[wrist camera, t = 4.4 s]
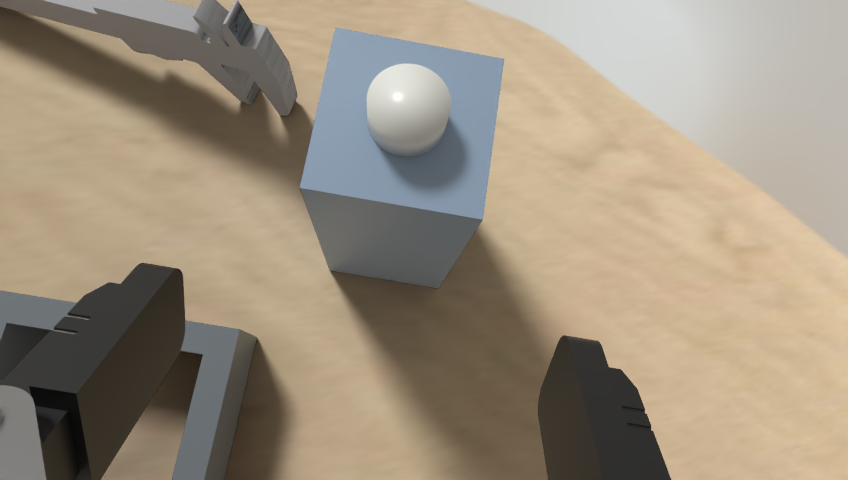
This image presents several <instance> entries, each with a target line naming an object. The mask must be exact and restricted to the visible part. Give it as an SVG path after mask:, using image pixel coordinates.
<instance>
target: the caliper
mask: <svg viewBox="0 0 848 480" xmlns="http://www.w3.org/2000/svg"><path fill="white" fill-rule="evenodd" d="M0 7H4V8H8V9H12V10H16V11H19V12H23V13H27V14H31V15H34V16H38V17H42V18H46V19H49V20H53V21H57V22H61V23H65V24H68V25H72V26H76V27H80V28H83V29H87V30H91V31H95V32H98V33H102V34H106V35H110V36H114V37H117V38H121V39H122V40H123V41H124V42H125V43H126V44H127V45H128V46H129V47H130V48H131V49H132V50H134V51H136V52H139V53H145V54H152V55H156V56H158V57H160V58H163V59H166V60H182V61H183V59H185V60H189V61H193V62H196V63H198V64H199V65H200V66H201V67H203V68H204V69H205V70H206V71H207V72H208V73H209V74H211V75H212V76H213V77H214V78H215V79H216V80H217V81H218V82H220V83H221V84H222V85H223V86H224V87H225V88H226V89H227V90H229V91H230V92H231V93H232V94H233V95H234V96H235V97H236V98H238V99H239V100H240V101H241V102H244V103H247V104H250V105H252V104H253V102H254V100H255V98H256V96H257V94H258V92H259V90H260V89H261V90H262V91H263V93H264V94H265V95H266V97H267V98H268V99H269V101H270V102H271V103H272V105H273V106H274V108H275V109H276V110H277V112H278V113H279V115H282V116H287V115H289V113H290V111H291V109H292V107H293V105H294V103H295V100H296V98H297V91H296V86H295V83H294V79H293V75H292V72H291V68H290V64H289V61H288V60H287V58H286V57H285V55H284V53H283V52H282V50H281V49H280V47H279V46H278V44H277V42H276V41H275V39H274V38H273V36H272V35H271V33H270V32H269V30H268V29H267V27H265V26H261V25H258V24H254V23H252V22H251V21H250V19H249V18H248V16H247V14H246V13H245V11H244V9H243V8H242V6H241V5H240V3H239V1H238V0H237V1H234V3H233V5H232V7H231V9H230V11H229V12H228V11H227V10H226V9H225V8H224V7H223V6H222V5H220V4H219V3H218V2H217V1H216V0H201V2H200V4H199V6H198V8H194V7H190V6H186V5H182V4H177V3H173V2H169V1H165V0H0Z"/></svg>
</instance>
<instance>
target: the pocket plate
mask: <svg viewBox="0 0 848 480" xmlns="http://www.w3.org/2000/svg"><path fill="white" fill-rule="evenodd" d="M76 304H77V303H74V302H67V301H61V300H55V299H49V298H43V297H37V296H30V295H24V294H18V293H12V292H6V291H0V382H1V381H2V380H3V379H4V378H5V377H6V376H7V375H8V374H9V373H10V372H11V371H12V370H13V369H14V368H15V367H16V366H17V365H18V364H19V363H20V362H21V361H22V360H23V359H24V358H25V356H26V355H27V354H28V353H29V352H30V351H31V350H32V349H33V348H34V347H35V346H36V345H37V344H38V343H39V342H40V341H41V340H42V339H43V338H44V337H45V336H46V335H47V334H48V333H49V332H50V331H53V330H54V326H55V325H56V324H57V323H58V322H59V321H60V320H61V319H62V318H63V317H64V316H66V317H67V315H68V312H69V311H70V310H71V309H72V308H73V307H74V306H75V305H76ZM256 338H257V337H255V336H253V335H251V334H249V333H246V332H244V331H242V330H240V329H234V328H228V327H222V326H215V325H209V324H203V323H197V322H191V321H185V336H184V341H183V344H182V348H181V350H180V352H185V353H192V354H198V355H203V356H202V360H201V364H200V368H199V372H198V376H197V380H196V384H195V388H194V392H193V396H192V400H191V404H190V408H189V412H188V416H187V420H186V424H185V428H184V432H183V436H182V440H181V444H180V448H179V452H178V456H177V460H176V464H175V468H174V472H173V476H172V480H224V479H225V474H226V470H227V466H228V461H229V457H230V452H231V448H232V444H233V439H234V435H235V430H236V426H237V422H238V417H239V413H240V409H241V404H242V400H243V395H244V391H245V387H246V382H247V378H248V373H249V369H250V365H251V360H252V356H253V352H254V347H255V343H256Z"/></svg>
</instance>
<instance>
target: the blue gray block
mask: <svg viewBox="0 0 848 480" xmlns="http://www.w3.org/2000/svg"><path fill="white" fill-rule="evenodd" d="M503 64H504V59H502V58H496V57H491V56H486V55H480V54H475V53H470V52H464V51H459V50H454V49H448V48H443V47H437V46H432V45H427V44H421V43H416V42H411V41H405V40H400V39H395V38H389V37H384V36H378V35H373V34H368V33H362V32H357V31H352V30H346V29H341V28H335V32H334V36H333V41H332V45H331V50H330V54H329V59H328V63H327V68H326V72H325V77H324V81H323V86H322V90H321V94H320V99H319V103H318V108H317V112H316V117H315V121H314V126H313V130H312V135H311V139H310V144H309V148H308V153H307V157H306V162H305V166H304V171H303V175H302V179H301V184H300V190H301V193H302V196H303V198H304V201H305V204H306V207H307V209H308V212H309V215H310V218H311V220H312V223H313V226H314V229H315V232H316V234H317V237H318V240H319V243H320V245H321V248H322V251H323V254H324V256H325V259H326V262H327V265H328V267H329V270H331V271H336V272H342V273H348V274H354V275H360V276H366V277H372V278H378V279H384V280H390V281H396V282H402V283H408V284H414V285H420V286H426V287H432V288H439V286H440V285H441V283H442V282H443V280H444V279H445V277H446V276H447V274H448V273H449V271H450V269H451V268H452V266H453V265H454V263H455V262H456V260H457V259H458V257H459V256H460V254H461V252H462V251H463V249H464V248H465V246H466V245H467V243H468V242H469V240H470V239H471V237H472V235H473V234H474V232H475V231H476V229H477V228H478V226H479V225H480V223H481V222H482V220H483V214H484V207H485V199H486V192H487V184H488V177H489V169H490V161H491V154H492V146H493V139H494V131H495V124H496V116H497V109H498V101H499V94H500V86H501V79H502V71H503Z"/></svg>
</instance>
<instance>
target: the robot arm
mask: <svg viewBox="0 0 848 480" xmlns="http://www.w3.org/2000/svg"><path fill="white" fill-rule="evenodd" d="M184 336H185V308H184V286H183V275H182V272H181V270H180V269H176V268H171V267H165V266H159V265H153V264H147V263H140V264H139V265H138V266H136V267H135V269H134V270H133V271H132V272H131V273H130V274H129V275H128V276H127V277H126V279H125V280H124V281H123V282H122V283H121V284H116V283H110V282H109V283H107V284H105V285H103V286H101V287H100V288H98V289H96V290H94V291H92V292H90V293H88V294H86V295H85V296H84V297H83V298H82V299H81V300H80V301H79V302H78V303H77V304H76V305H75V306H74V307H73V308H72V309H71V310H70V311H69V312H68V315H67V317H66V316H64V317H63V318H62V319H61V320H60V321H59V322H58V323H57V324H56V325H55V326H54V330H53V331H50V332H49V333H48V334H47V335H46V336H45V337H44V338H43V339H42V340H41V341H40V342H39V343H38V344H37V345H36V346H35V347H34V348H33V349H32V350H31V351H30V352H29V353H28V354H27V355H26V356H25V358H24V359H23V360H22V361H21V362H20V363H19V364H18V365H17V366H16V367H15V368H14V369H13V370H12V371H11V372H10V373H9V374H8V375H7V376H6V377H5V378H4V379H3V380H2V381H1V382H0V480H101V478H102V476H103V475H104V473H105V472H106V470H107V468H108V467H109V465H110V464H111V462H112V461H113V459H114V457H115V456H116V454H117V453H118V451H119V449H120V448H121V446H122V445H123V443H124V441H125V440H126V438H127V437H128V435H129V433H130V432H131V430H132V429H133V427H134V425H135V424H136V422H137V421H138V419H139V417H140V416H141V414H142V413H143V411H144V409H145V408H146V406H147V405H148V403H149V401H150V400H151V398H152V397H153V395H154V394H155V392H156V390H157V389H158V387H159V386H160V384H161V382H162V381H163V379H164V378H165V376H166V374H167V373H168V371H169V370H170V368H171V366H172V365H173V363H174V362H175V360H176V358H177V357H178V355H179V353H180V350H181V348H182V344H183V341H184ZM538 417H539V424H540V430H541V436H542V442H543V449H544V455H545V461H546V468H547V474H548V480H671V478H670V475H669V473H668V470H667V467H666V465H665V462H664V459H663V457H662V454H661V451H660V449H659V446H658V443H657V441H656V438H655V435H654V432H653V431H651V424H650V422H649V419H648V416H647V414H645V408H644V406H643V403H642V400H641V398H640V395H639V392H638V390H637V388H636V387H635V386H634V385H633V383H632V382H631V381H630V380H629V379H628V377H627V376H626V375H625V374H624V373H623V371H622V370H621V369H615V368H609V367H608V364H607V361H606V358H605V354H604V351H603V348H602V346H601V344H600V342H598V341H594V340H588V339H582V338H577V337H571V336H565V335H564V336H562V337H561V338H560V340H559V342H558V344H557V347H556V350H555V352H554V355H553V358H552V360H551V363H550V366H549V368H548V371H547V374H546V376H545V379H544V382H543V385H542V387H541V391H540V396H539V403H538Z"/></svg>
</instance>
